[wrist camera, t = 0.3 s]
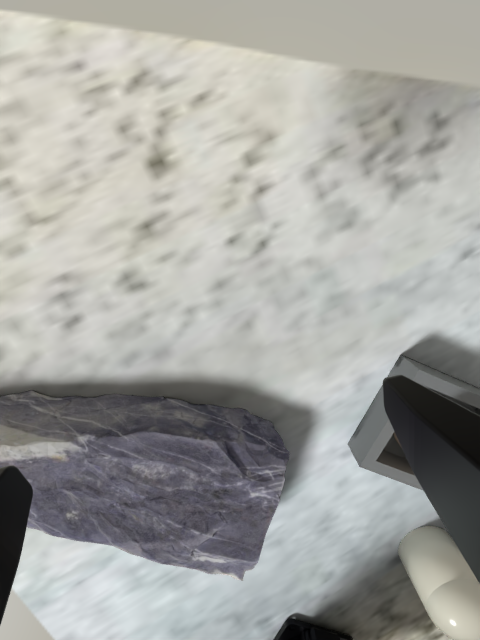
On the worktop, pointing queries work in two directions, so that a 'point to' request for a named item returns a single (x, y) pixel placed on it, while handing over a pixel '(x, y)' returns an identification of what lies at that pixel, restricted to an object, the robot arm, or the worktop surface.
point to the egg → (443, 581)
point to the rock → (148, 475)
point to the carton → (377, 432)
